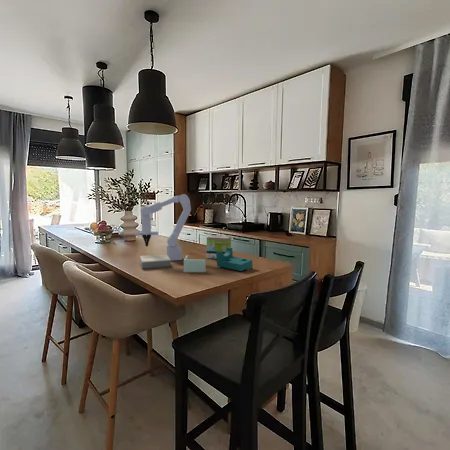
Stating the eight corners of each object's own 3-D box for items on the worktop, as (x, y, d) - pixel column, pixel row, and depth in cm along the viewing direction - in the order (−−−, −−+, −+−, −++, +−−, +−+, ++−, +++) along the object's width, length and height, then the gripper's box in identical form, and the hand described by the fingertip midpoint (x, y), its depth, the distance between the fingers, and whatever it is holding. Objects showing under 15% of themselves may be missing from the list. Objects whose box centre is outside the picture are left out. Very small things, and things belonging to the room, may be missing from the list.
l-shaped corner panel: (205, 273, 156) (205, 259, 156) (183, 273, 156) (183, 259, 155) (206, 267, 168) (206, 255, 168) (186, 267, 168) (186, 255, 167)
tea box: (206, 258, 191) (206, 236, 189) (210, 255, 201) (210, 235, 199) (227, 259, 187) (228, 237, 186) (231, 256, 197) (231, 235, 196)
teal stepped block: (217, 268, 167) (216, 251, 166) (228, 263, 176) (227, 247, 174) (241, 273, 156) (240, 255, 154) (252, 268, 164) (251, 250, 162)
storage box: (166, 262, 180) (166, 255, 180) (170, 267, 167) (170, 260, 167) (140, 264, 174) (140, 257, 174) (142, 269, 161) (142, 262, 161)
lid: (166, 255, 180) (166, 254, 180) (170, 260, 167) (170, 259, 167) (140, 257, 174) (140, 256, 174) (142, 262, 161) (142, 261, 161)
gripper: (156, 224, 189) (157, 244, 190) (134, 225, 183) (134, 245, 185) (158, 225, 182) (158, 246, 183) (134, 226, 177) (135, 247, 178)
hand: (146, 246), depth 184 cm, fingers closed
